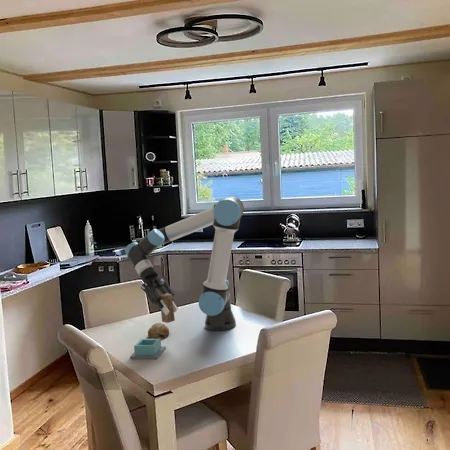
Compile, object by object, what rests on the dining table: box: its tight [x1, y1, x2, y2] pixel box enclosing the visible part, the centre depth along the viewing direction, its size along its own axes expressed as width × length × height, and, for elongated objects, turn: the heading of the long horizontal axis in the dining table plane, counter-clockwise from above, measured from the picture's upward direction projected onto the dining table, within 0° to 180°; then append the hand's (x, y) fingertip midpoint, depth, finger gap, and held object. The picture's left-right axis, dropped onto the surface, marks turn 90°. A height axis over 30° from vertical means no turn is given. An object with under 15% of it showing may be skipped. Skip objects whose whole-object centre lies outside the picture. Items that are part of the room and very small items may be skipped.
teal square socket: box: [129, 338, 167, 360], centre depth 223 cm, size 12×12×5 cm
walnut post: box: [158, 293, 176, 324], centre depth 231 cm, size 4×4×12 cm
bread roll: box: [147, 322, 170, 339], centre depth 246 cm, size 10×10×8 cm
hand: (171, 311), depth 229 cm, fingers closed on walnut post, 4 cm apart
